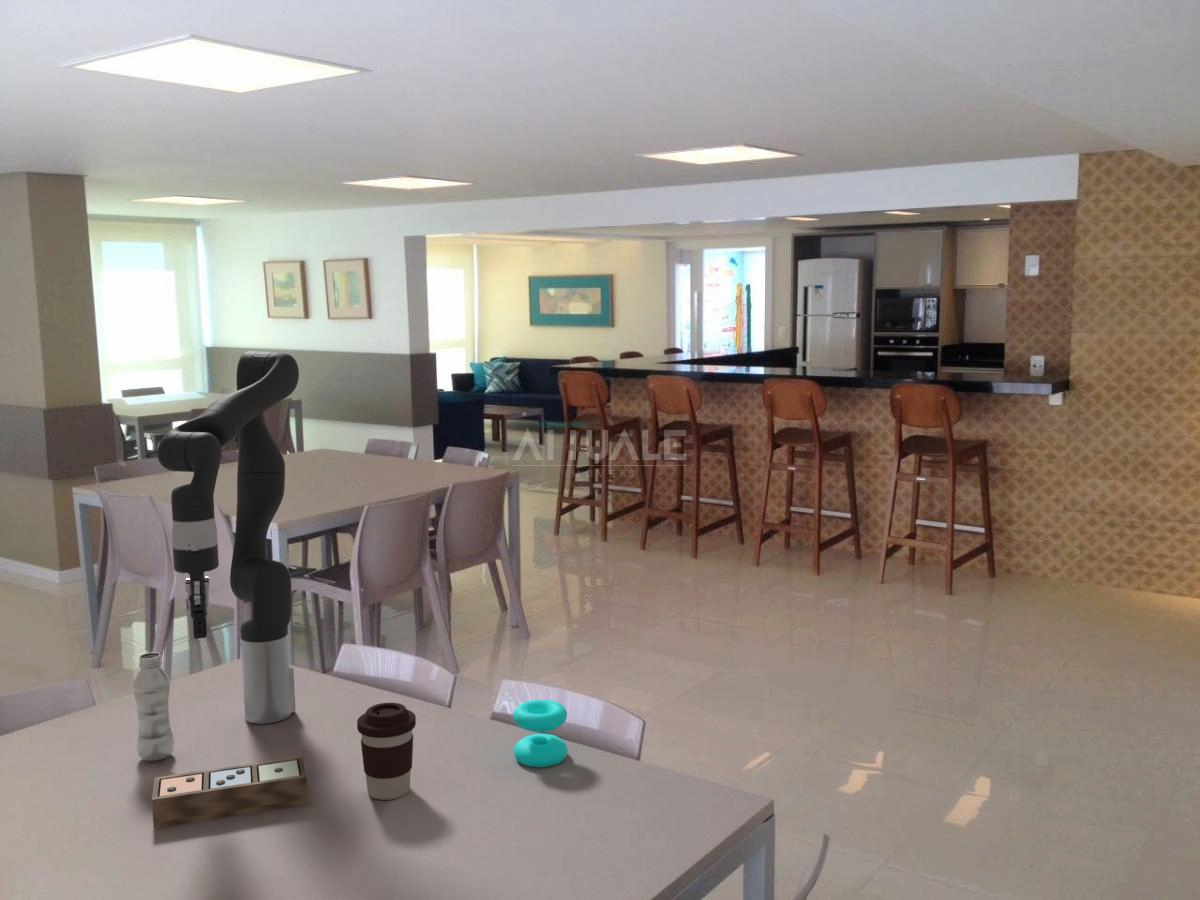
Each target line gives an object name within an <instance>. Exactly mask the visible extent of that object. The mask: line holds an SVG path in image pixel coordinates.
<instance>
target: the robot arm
mask: <svg viewBox="0 0 1200 900" xmlns="http://www.w3.org/2000/svg"><path fill="white" fill-rule="evenodd" d="M299 378H300V371H299V365H298V363H297V360H296V359H295V358H294V356H293V355H291V354H288V353H287V352H286V353H285V352H278V351H277V352H276V351H256V350H255V351H253V350H251V351H245V352H244V353H242V354H241V355H240V358H239V360H238V362H237V368H236V379H235V380H236V391H233V392H230V393H228V394H226V395H223V396H222V397H220V398H218V399H216V400H215V401H214V402H212V403H211V404H210V405H209V406H208V407H207V408H205V409H204V410H203V411H202V412H201V413H200V414H198V416H197V417H195V418H191V419H190V420H188V421H185V422H183V423H182V424H180V425H178V426H175V427H174V428H172V429H171V430H169V431H168V432H167V433H165V435H163V437H162V438H161V440H160V441H159V444H158V446H157V452H156V455H157V460H158V462H159V463H160V465H161V467H163V468H164V469H166V470H168V471H170V472H186V473H187V472H189V473H193V476H192V479H191V481H190V483H187V484H181V485H178V486H176V487H174V488H173V489H172V491H171V494H170V498H171V514H172V515H171V517H172V518H171V519H172V524H171V527H172V528H171V545H172V558H173V560H172V561H173V569H174V571H175V572H177V573H180V574H188V575H189V578H185V582H184V584H185V592H186V594H187V607H189V608H190V617H191V619H192V629H193V638H194V639H196V640H197V639H205V638H207V636H208V628H207V627H208V625H207V616H208V610H207V607H208V605H209V601H210V600H209V599H210V595H209V590H210V576H205V572H211V571H214V570H216V569H217V568H218V567H219V563H220V561H219V545H218V544H219V542H218V529H217V523H216V517H215V503H214V502H215V500H214V499H215V498H214V494H215V488H216V484H217V479H218V475H219V470H220V465H221V462H222V457H223V456H222V455H223V454H222V453H223V452H222V450H223V449H222V447H225V445H227V444H228V443H229V442H230V441H231V440H232V439H233V438H234V437H235V436H236V435H237V434H238V455H237V472H236V473H237V476H236V491H237V492H236V515H235V516H236V517H235V533H234V534H235V535H234V542H233V551H232V557H231V565H230V571H229V575H230V576H229V583H230V588H231V589H230V590H231V591H232V593H233V595H234V596H235V597H236V599H239V600H241V601H243V602H246V603H247V602H248V603H252V617H251V618H250V619H247V620H245V621H243V622H242V623H241V625H240V645H241V646H240V647H241V649H240V650H241V662H242V667H241V668H242V684H243V700H244V701H243V702H244V718H245V720H246V722H249V723H251V724H256V725H258V724H259V725H267V724H274V723H278V722H281V721H283V720H286V719H288V718H290V716H291V715H292V714H294V713H295V711H297V708H296V690H295V689H296V688H295V671H294V668H293V667H292V666H290V654H289V653H290V652H289V651H290V649H289V624H290V621H291V617H292V579H291V573H290V571H289V569H288V567H287V566H286V565H285V564H284V563H283V562H280V561H277V560H272V559H268V558H267V553H266V550H267V536H268V531H269V527H270V525H271V524H272V521H273V519H274V517H275V515H276V514H277V512H278V510H279V508H280V505H281V504H282V501H283V498H284V496H285V495H284V493H285V485H286V484H285V482H286V464H285V460H284V459H285V458H284V456H283V454H282V452H281V450H280V448H279V446H278V444H277V442H276V441H275V439H274V438H273V436H272V434H271V432H270V431H269V428H268V426H267V424H266V421H265V417H264V412H266V411H267V410H269V409H271V408H272V407H274V406H275V405H277V404H278V403H280V402H282V401H283V400H285V399H287V398H288V397H290V395H292V394H293V392H294V391H295V390H296V388H297V385H298V383H299ZM293 712H294V713H293ZM291 713H292V714H291Z"/></svg>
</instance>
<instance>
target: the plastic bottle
mask: <svg viewBox="0 0 1200 900" xmlns="http://www.w3.org/2000/svg"><path fill="white" fill-rule="evenodd" d="M138 660H139V663H138V667H139V668H140V669H139V672H138V673H137V675H136V676H135V678H134V679H133V683H132V691H133V695H134V699H135V703H136V708H137V710H136V711H137V718H138V730H137V731H138V733H137V734H138V735H137V741H136V743H137V744H136V752H137V753H138V756H139V757H140V758H141V760H142V761H144V762H157V761H161V760H164V759H167V758H168V757H170V756H171V755H172V753H173V752H174V749H175V748H174V746H175V738H174V737H175V736H174V733H173V731H172V726H171V720H170V715H169V714H170V712H169V708H170V707H169V706H170V705H169V699H170V686H171V683H170V682H171V681H170V679H171V678H170V677H169V675H168V673H167V672H166V671H165V670H164V669H163V668H162V667H161V666H162V660H161V653H160V652H156V651H155V652H147V653H143V654H141V655H140V656H139V659H138Z"/></svg>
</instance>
